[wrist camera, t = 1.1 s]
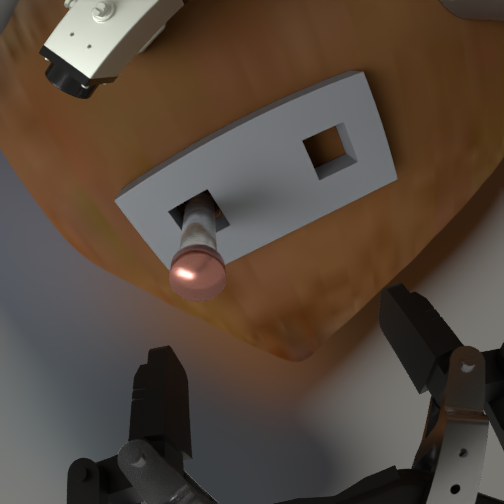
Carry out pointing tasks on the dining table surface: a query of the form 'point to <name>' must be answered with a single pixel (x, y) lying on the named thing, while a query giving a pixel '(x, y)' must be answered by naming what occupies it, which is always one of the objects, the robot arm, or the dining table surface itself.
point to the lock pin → (198, 253)
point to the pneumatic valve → (102, 40)
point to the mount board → (267, 170)
